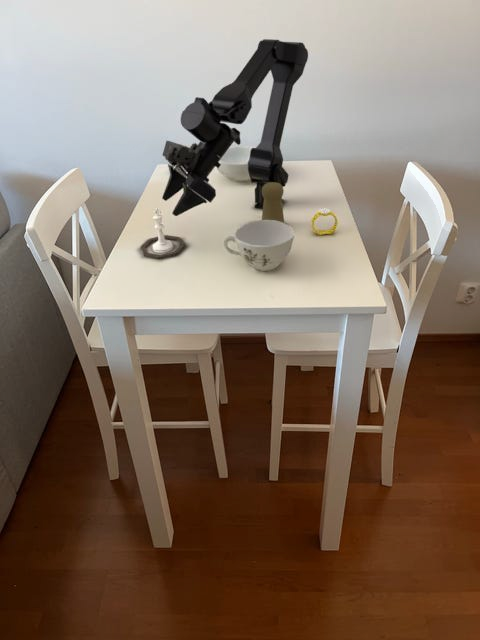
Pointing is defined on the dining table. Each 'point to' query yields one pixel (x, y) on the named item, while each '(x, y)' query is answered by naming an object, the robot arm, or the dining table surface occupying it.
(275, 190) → the cork
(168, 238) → the spot ring
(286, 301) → the dining table surface
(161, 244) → the chess piece
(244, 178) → the cereal bowl
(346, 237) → the dining table surface
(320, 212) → the watch
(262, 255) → the teacup
